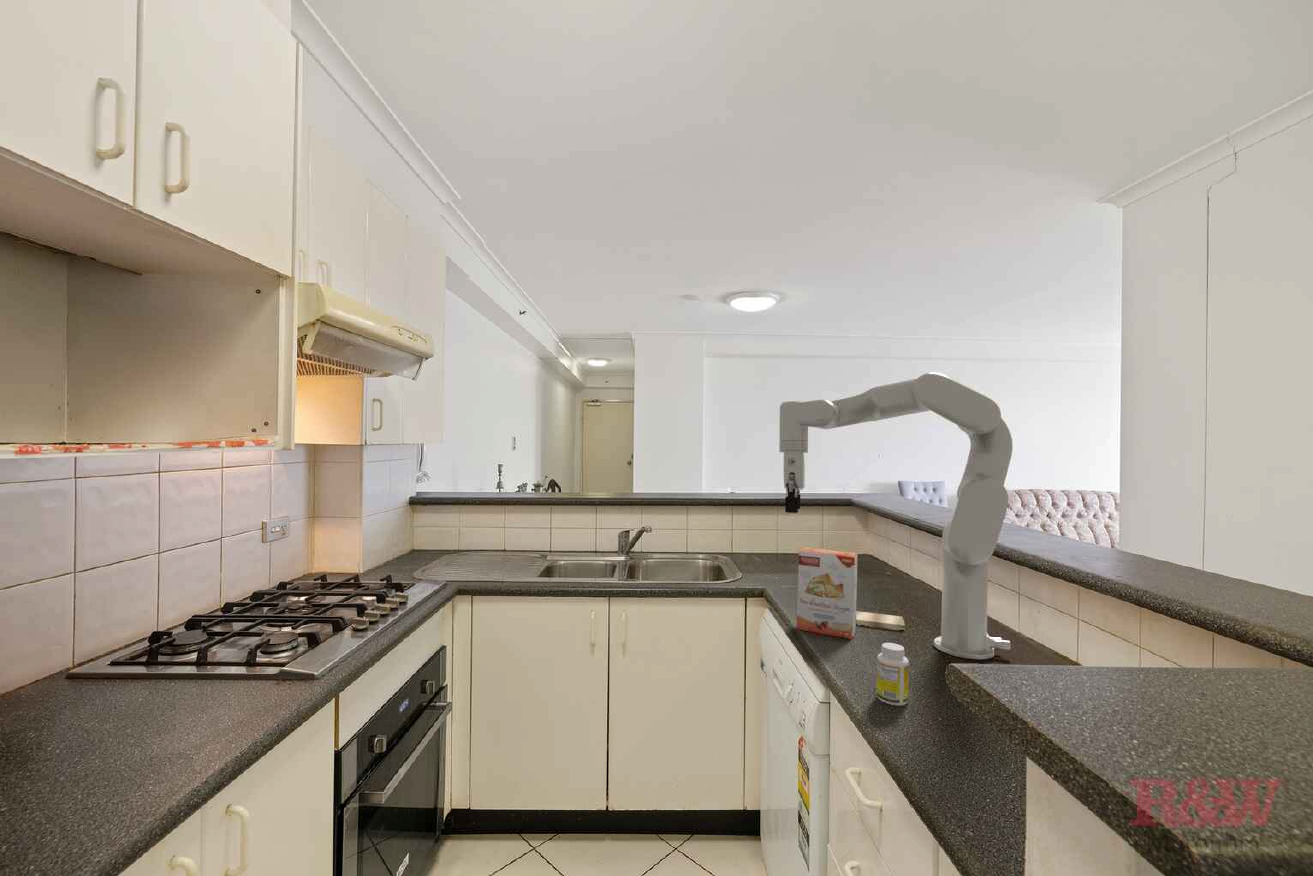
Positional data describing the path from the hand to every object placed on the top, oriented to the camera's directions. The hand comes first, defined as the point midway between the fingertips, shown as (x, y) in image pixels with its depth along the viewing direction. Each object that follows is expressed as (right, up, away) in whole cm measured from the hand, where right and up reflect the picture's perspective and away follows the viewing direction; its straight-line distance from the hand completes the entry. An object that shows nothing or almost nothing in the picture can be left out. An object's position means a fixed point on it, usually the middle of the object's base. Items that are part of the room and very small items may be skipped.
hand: (792, 510), depth 149 cm
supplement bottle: (+8, -31, -44) cm, 54 cm away
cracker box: (+7, -31, -6) cm, 32 cm away
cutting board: (+24, -31, +1) cm, 39 cm away
